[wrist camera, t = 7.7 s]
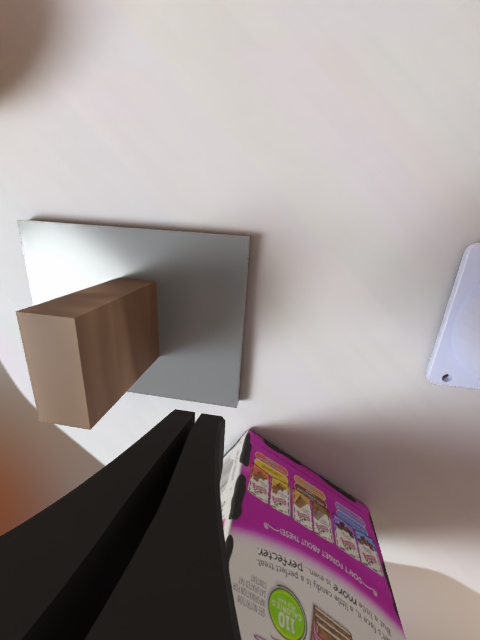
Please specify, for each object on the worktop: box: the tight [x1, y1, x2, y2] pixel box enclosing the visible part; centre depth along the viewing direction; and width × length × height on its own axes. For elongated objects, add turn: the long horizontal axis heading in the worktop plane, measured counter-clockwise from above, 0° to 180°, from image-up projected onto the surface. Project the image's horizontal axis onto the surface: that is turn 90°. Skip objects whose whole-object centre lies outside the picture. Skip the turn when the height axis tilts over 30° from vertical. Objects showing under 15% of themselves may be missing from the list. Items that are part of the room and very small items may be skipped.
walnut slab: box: [16, 278, 159, 430], centre depth 15 cm, size 2×5×7 cm, turn 176°
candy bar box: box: [220, 430, 406, 640], centre depth 14 cm, size 11×5×16 cm, turn 56°
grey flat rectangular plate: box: [17, 220, 250, 408], centre depth 18 cm, size 14×11×1 cm
